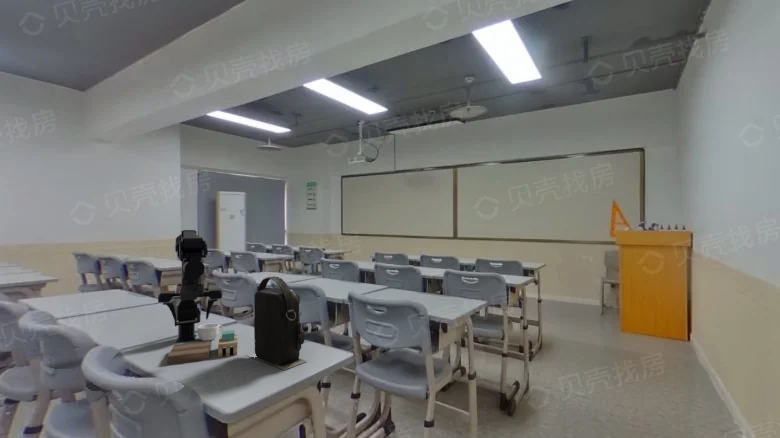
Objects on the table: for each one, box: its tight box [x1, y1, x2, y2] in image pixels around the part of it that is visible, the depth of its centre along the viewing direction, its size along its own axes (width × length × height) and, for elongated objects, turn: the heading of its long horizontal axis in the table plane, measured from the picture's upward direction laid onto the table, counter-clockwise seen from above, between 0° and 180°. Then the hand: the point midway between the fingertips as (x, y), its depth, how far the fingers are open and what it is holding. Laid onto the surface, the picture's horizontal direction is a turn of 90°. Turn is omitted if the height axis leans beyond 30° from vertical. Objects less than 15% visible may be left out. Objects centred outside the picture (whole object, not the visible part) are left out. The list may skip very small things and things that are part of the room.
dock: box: [166, 340, 212, 365], centre depth 125 cm, size 13×12×2 cm
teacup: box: [196, 322, 224, 342], centre depth 144 cm, size 10×8×5 cm
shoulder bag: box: [253, 276, 308, 371], centre depth 123 cm, size 23×9×28 cm, turn 53°
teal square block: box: [221, 329, 236, 342], centre depth 130 cm, size 4×4×2 cm
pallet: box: [217, 334, 239, 358], centre depth 130 cm, size 10×6×4 cm, turn 22°
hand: (191, 320), depth 121 cm, fingers open, 9 cm apart
